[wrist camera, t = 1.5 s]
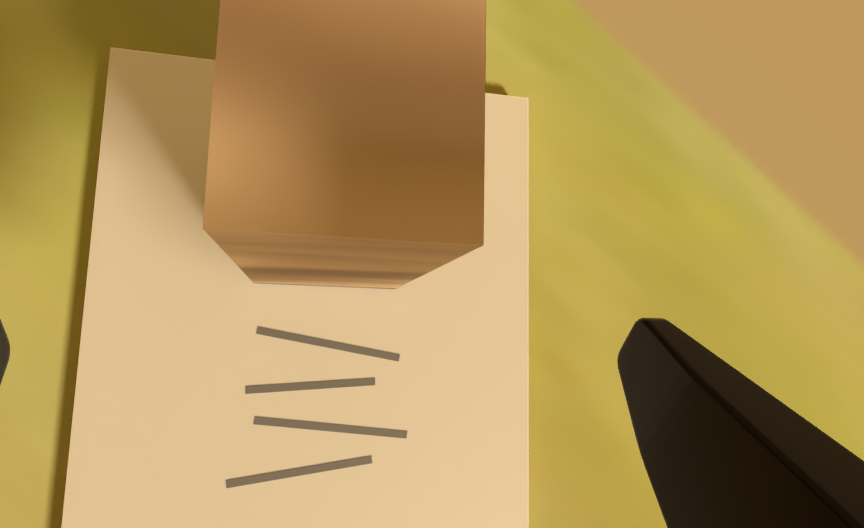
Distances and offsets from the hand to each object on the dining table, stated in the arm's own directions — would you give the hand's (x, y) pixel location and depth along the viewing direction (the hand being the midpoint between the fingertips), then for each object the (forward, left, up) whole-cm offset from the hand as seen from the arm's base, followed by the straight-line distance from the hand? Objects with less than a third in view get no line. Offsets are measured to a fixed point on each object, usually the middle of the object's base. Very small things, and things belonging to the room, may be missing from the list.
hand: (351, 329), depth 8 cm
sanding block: (+3, +2, -10) cm, 11 cm away
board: (-2, -1, -11) cm, 12 cm away
